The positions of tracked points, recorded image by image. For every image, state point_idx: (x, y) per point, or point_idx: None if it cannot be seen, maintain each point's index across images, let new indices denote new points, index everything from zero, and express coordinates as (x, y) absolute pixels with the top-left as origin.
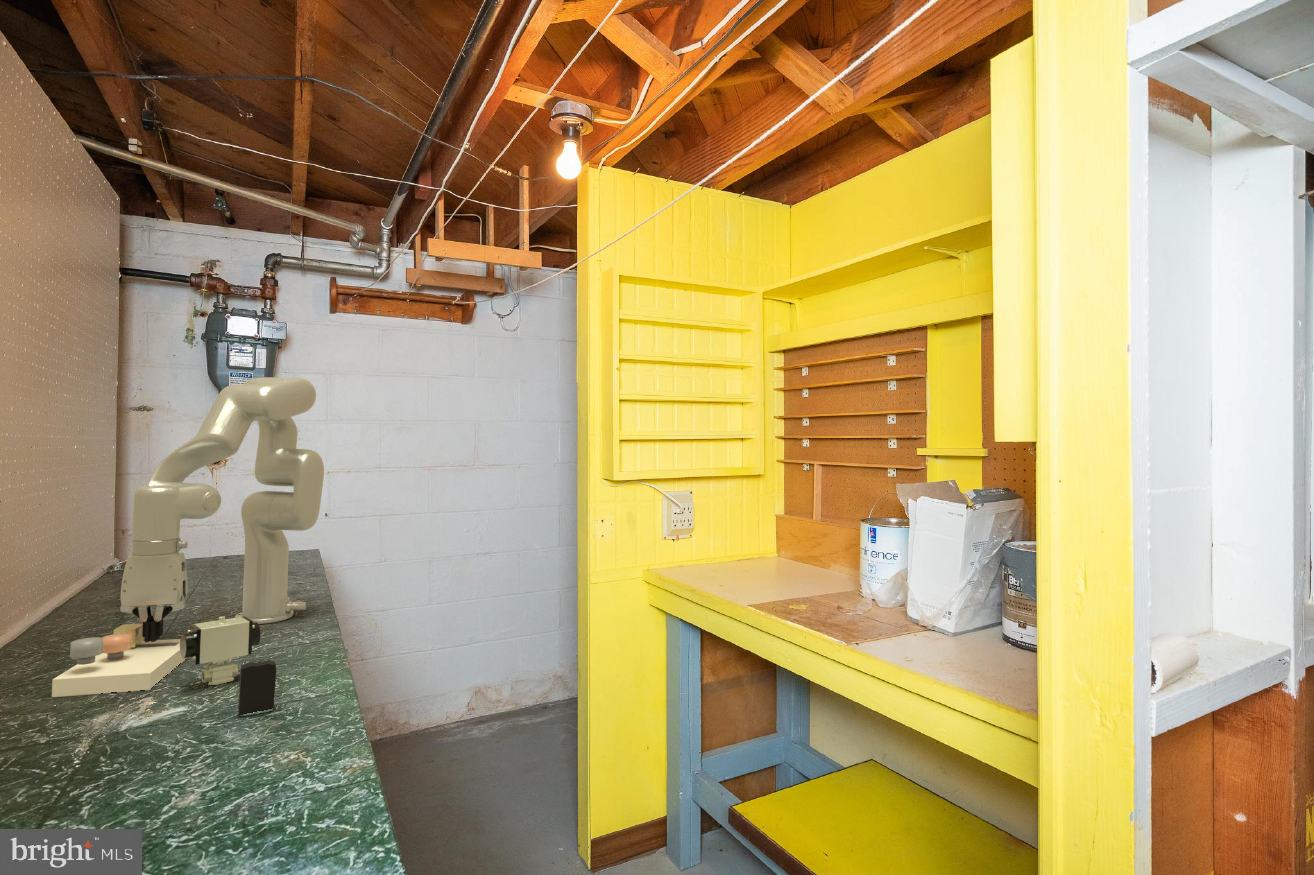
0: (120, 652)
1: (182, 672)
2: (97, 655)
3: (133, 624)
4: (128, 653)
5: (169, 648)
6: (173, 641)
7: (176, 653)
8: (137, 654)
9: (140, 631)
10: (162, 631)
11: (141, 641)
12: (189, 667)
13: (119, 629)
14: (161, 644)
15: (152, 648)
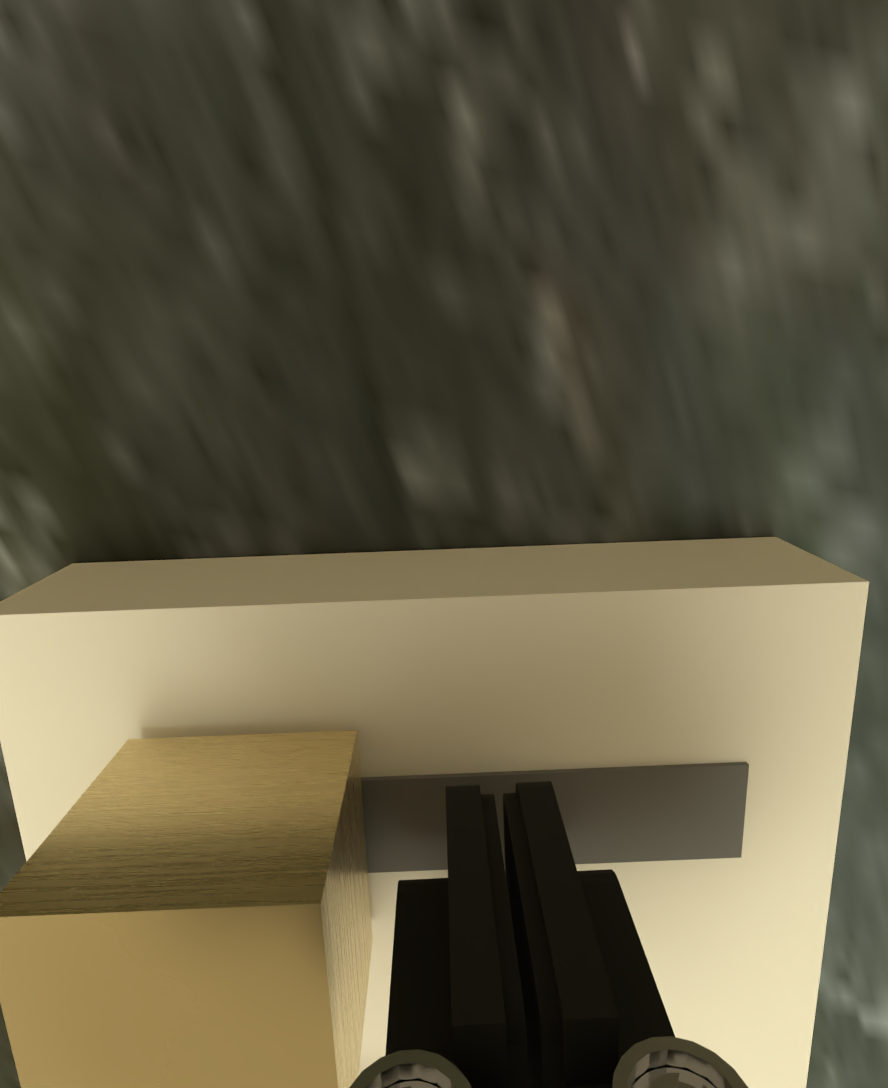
0: None
1: (812, 1036)
2: None
3: (166, 947)
4: (380, 1042)
5: (707, 943)
6: (667, 690)
7: (802, 1056)
8: None
9: (344, 948)
10: (619, 900)
11: (358, 800)
12: (835, 938)
13: None
14: (584, 815)
15: None
